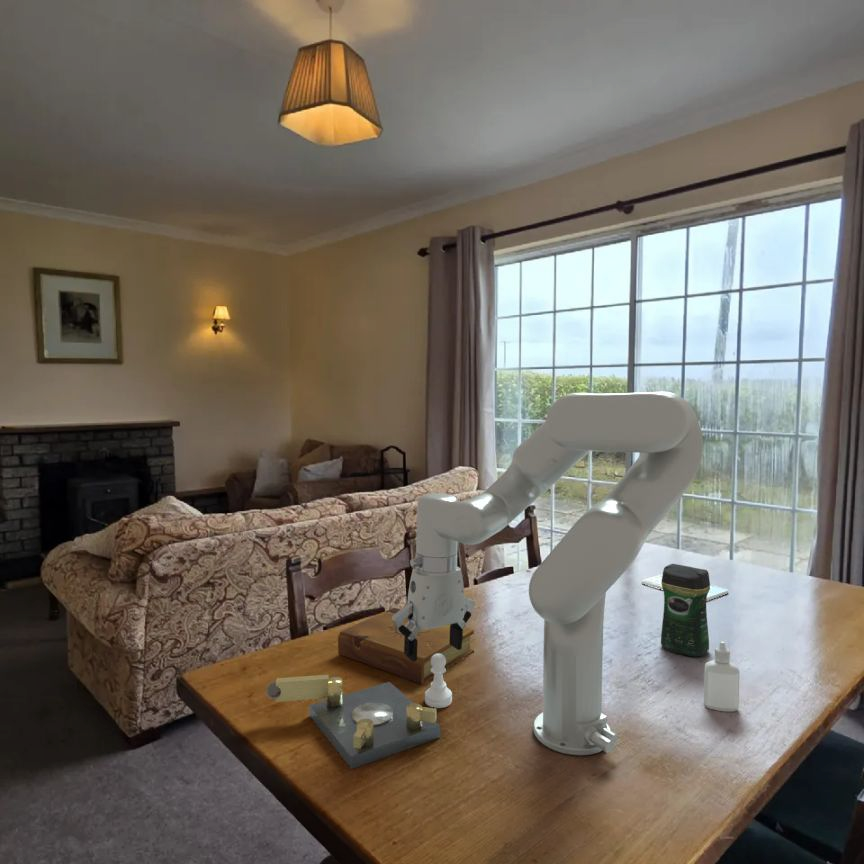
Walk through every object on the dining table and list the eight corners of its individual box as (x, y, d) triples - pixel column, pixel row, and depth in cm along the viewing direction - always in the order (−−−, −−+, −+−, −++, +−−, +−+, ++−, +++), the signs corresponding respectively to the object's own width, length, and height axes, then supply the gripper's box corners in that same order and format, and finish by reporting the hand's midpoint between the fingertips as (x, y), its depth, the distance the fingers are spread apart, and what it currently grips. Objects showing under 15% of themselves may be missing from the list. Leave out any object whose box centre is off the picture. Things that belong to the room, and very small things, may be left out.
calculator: (667, 577, 188) (667, 571, 187) (730, 595, 171) (730, 588, 171) (639, 585, 180) (640, 579, 180) (703, 604, 164) (703, 597, 163)
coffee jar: (713, 650, 134) (715, 567, 133) (699, 661, 128) (702, 575, 127) (670, 637, 141) (671, 558, 139) (655, 648, 135) (656, 566, 134)
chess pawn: (420, 705, 111) (420, 657, 110) (430, 692, 116) (430, 646, 115) (446, 710, 109) (446, 662, 109) (455, 697, 114) (455, 650, 113)
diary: (338, 658, 132) (337, 632, 132) (394, 630, 147) (393, 607, 147) (421, 687, 119) (421, 658, 118) (474, 654, 134) (473, 628, 133)
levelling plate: (441, 738, 100) (441, 709, 100) (352, 771, 92) (352, 739, 92) (389, 691, 116) (389, 666, 116) (309, 715, 108) (308, 688, 107)
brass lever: (342, 698, 110) (342, 672, 109) (342, 705, 107) (342, 679, 106) (267, 703, 108) (267, 677, 107) (265, 711, 105) (265, 684, 105)
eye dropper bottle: (733, 717, 107) (735, 650, 106) (700, 706, 110) (702, 641, 109) (741, 707, 110) (743, 642, 109) (708, 697, 114) (710, 634, 113)
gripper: (405, 574, 103) (402, 671, 105) (486, 561, 112) (483, 650, 114) (384, 562, 109) (382, 654, 111) (463, 550, 119) (460, 635, 120)
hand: (433, 652), depth 112 cm, fingers open, 9 cm apart
